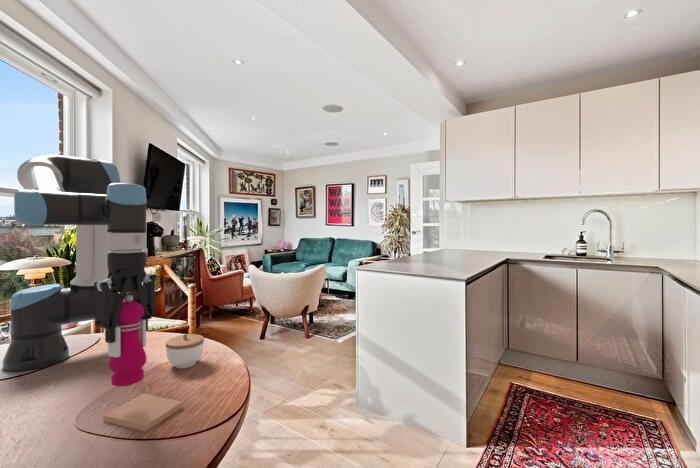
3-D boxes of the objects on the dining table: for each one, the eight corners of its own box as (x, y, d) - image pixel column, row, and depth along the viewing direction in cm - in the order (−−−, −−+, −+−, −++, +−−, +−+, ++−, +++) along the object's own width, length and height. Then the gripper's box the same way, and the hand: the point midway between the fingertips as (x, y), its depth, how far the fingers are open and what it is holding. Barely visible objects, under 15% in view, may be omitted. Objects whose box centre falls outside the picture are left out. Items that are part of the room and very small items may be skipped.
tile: (103, 415, 74) (145, 425, 70) (143, 393, 83) (182, 401, 80) (103, 423, 74) (145, 433, 70) (143, 400, 83) (182, 409, 80)
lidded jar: (210, 358, 109) (210, 329, 109) (191, 372, 99) (191, 341, 98) (179, 356, 110) (179, 328, 110) (157, 370, 100) (157, 339, 99)
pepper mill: (153, 376, 80) (154, 293, 80) (124, 390, 73) (125, 299, 73) (131, 371, 83) (131, 290, 82) (101, 384, 76) (101, 296, 76)
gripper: (97, 255, 67) (98, 369, 68) (172, 249, 85) (173, 339, 86) (71, 253, 70) (72, 364, 70) (150, 248, 88) (150, 336, 88)
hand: (127, 350), depth 78 cm, fingers closed on pepper mill, 6 cm apart
